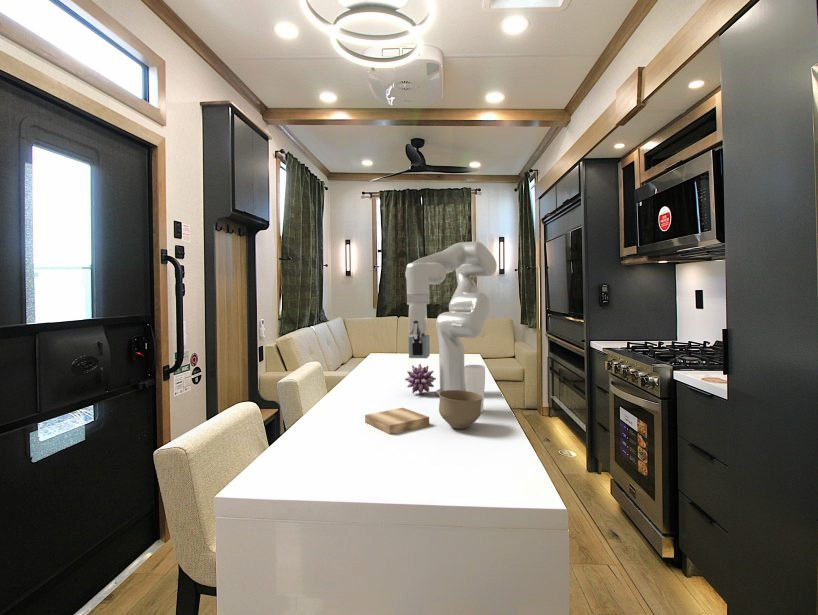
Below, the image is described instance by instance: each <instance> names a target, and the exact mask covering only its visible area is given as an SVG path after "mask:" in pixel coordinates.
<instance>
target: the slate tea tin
mask: <svg viewBox="0 0 818 615" xmlns="http://www.w3.org/2000/svg"><path fill="white" fill-rule="evenodd" d="M412 343H413V334H410V336H408V358H409V359H428V358H429V357H430V356H431V353H430V351H431V350H430V346H431V345H430V335H429V334H425V335H422V339H421V343H422V350H423V354H422V355H413V345H412Z"/></svg>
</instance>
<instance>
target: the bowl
mask: <svg viewBox="0 0 818 615" xmlns="http://www.w3.org/2000/svg"><path fill="white" fill-rule="evenodd" d="M438 397H439V404H438V412H439V414H440V416H441V418H442V419H443V420H444V421H445V422H446V423H447V424H448V426H450V427H451V428H453V429H457V430H465V429H467V428H469V426H471V425H473V423H474V424H475V423H476V422H477V420H478V419H479V418H480V417H481V414H482V412H481V401H482V396H481V395H479V394H477V393H474V392H469V391H462V390H446V391H442V392H440V393H439V396H438Z"/></svg>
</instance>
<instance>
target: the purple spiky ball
mask: <svg viewBox="0 0 818 615" xmlns="http://www.w3.org/2000/svg"><path fill="white" fill-rule="evenodd" d="M429 367H430V366H429V365H426V366H423V367H422V364H421V363H419V364H418V365H417V366H414V364H413V365H411V368H412V370H411V371H410V370H407V371H406V373H407V374H408V376H407V377H405V379H404V381H407V383H408V384H407V386H406V387H407V388H411V389H412V391H411V393H412V394H414V393H415V392H418V393H419V395H423V392H424V391H425V392H426V393H430V387H431V388H434V387H435V385H434V384H433V383H434V381H435V380H437V378H436V377H434V376H432V374H433V373H434V370H431V371H429Z"/></svg>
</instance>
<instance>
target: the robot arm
mask: <svg viewBox="0 0 818 615" xmlns="http://www.w3.org/2000/svg"><path fill="white" fill-rule="evenodd" d="M496 271H497V261H496V258H495V256H494V255H493V254H492V253H491V251H490V250H489V249H488V248H487V246H486V245H485V244H483V243H482V242H480V241H463V242H457V243H454V244H452V245H451V246H449V247H447V248H445V249H444V250H441V251H439V252H435V253H433V254H430V255H426V256H423V257H421V258H418V259H416V260H414V261H413V262H409V263H408V264H407V265H406V269H405V274H404V275H405V279H406V305H408V330H407V331H408V332H407V333H408V334H409V335H413V343H412V345H413V355H422V354H423V350H422V343H421V339H422V335H426V332H427V330H428V313H427V312H428V310H427V305H430V303H431V302H430V285H438V284H441V283H443V281H444V280H445V279H446V277H447V274H450V273H452V272H455V276H456V282H457V287H456V289H455V291H454V293H453V295H452V297H451V299H450V301H449V303H448V311H445V312H442V313H440V314H438V316H437V318H436V320H435V326H436V327H435V328H436V332H437V338H438V358H439V359H438V360H439V361H438V363H439V366H438V368H439V369H438V370H439V372H438V373H439V388H438V389H437V390H436V391H435V395H436V396H437V397H440V396H439V393H440V392H442V391H446V390H462V391H466V389H465V378H464V368H465V346H464V345H463V344H464V343H462V341H461V340H460V338H467V339H468V338H469V339H470V338H471V339H472V338H474V339H475V338H478V337H479V336H480V334H482V330H483V328H484V326H485V323H486V321H487V319H488V316H489V313H490V310H491V301H490V298H489V296H488V295H487V294H486V293H484V292H483V293H482V292H479V289H478V286H477V284H476V282H475V281H474V280H473V279H472V277H473V278H477V277H491V276H493V275H494V274H495V273H496Z"/></svg>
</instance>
